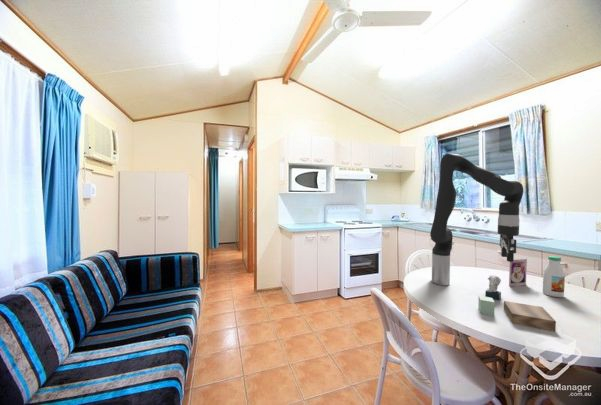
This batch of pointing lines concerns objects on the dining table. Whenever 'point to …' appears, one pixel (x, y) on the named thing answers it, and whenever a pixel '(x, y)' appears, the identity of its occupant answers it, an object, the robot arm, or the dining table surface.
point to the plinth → (529, 315)
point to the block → (486, 305)
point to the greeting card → (518, 272)
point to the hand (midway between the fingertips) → (507, 259)
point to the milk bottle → (553, 278)
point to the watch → (493, 288)
